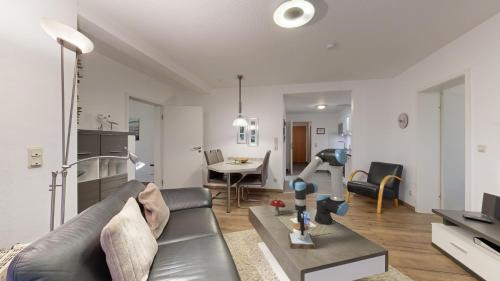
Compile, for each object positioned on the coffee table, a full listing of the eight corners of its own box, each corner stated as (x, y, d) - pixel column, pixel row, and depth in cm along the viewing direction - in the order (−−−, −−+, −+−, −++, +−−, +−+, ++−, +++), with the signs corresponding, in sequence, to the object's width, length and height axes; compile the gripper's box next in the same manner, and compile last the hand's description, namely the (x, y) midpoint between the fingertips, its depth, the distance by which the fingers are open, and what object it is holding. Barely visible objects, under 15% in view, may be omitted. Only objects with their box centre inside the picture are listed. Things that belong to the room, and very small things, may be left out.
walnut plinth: (309, 237, 147) (309, 233, 147) (314, 249, 132) (314, 244, 132) (288, 236, 149) (288, 232, 149) (290, 248, 133) (290, 243, 133)
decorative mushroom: (267, 212, 198) (267, 197, 198) (282, 211, 201) (282, 196, 200) (272, 218, 182) (271, 202, 182) (288, 217, 185) (288, 201, 185)
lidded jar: (299, 241, 133) (299, 228, 133) (290, 234, 143) (289, 221, 143) (311, 238, 137) (311, 225, 137) (302, 231, 147) (301, 219, 147)
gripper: (293, 199, 152) (293, 227, 152) (297, 210, 129) (297, 243, 129) (303, 199, 151) (303, 228, 151) (309, 210, 128) (309, 244, 128)
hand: (300, 235), depth 140 cm, fingers closed on lidded jar, 11 cm apart
